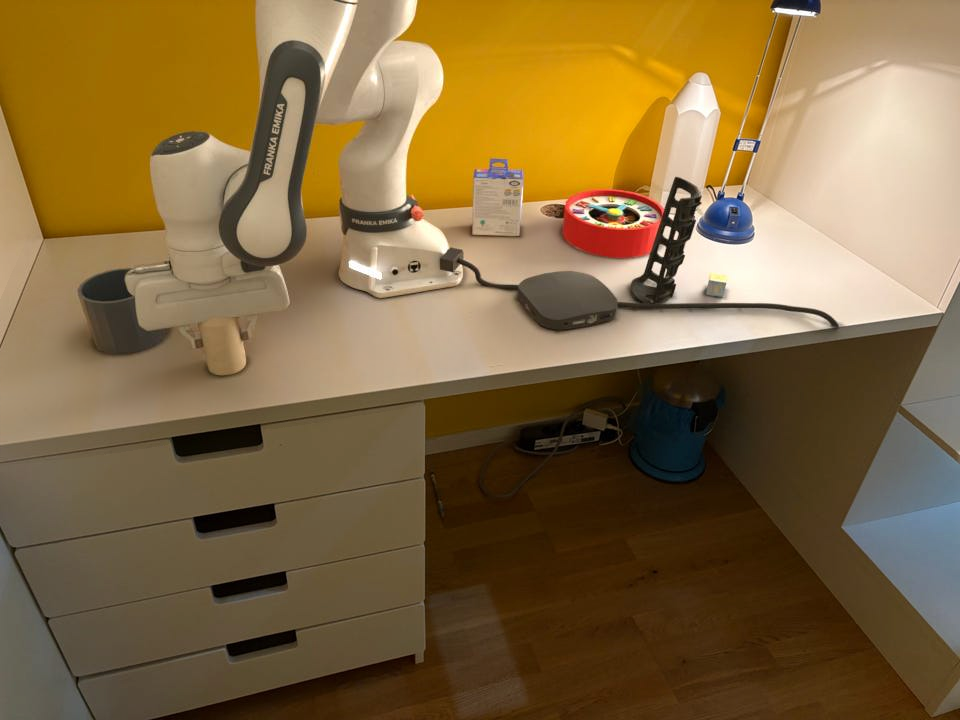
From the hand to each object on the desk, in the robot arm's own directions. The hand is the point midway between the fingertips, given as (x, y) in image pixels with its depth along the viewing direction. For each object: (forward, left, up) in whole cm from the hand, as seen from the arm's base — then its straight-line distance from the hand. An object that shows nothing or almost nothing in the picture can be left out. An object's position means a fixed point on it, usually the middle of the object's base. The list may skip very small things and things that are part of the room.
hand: (223, 342), depth 106 cm
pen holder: (+16, -10, -4) cm, 19 cm away
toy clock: (-72, -36, -4) cm, 81 cm away
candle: (0, 0, -4) cm, 4 cm away
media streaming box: (-55, -10, -4) cm, 56 cm away
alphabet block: (-83, -11, -4) cm, 84 cm away
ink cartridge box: (-49, -41, -4) cm, 64 cm away
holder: (-72, -12, -4) cm, 73 cm away
